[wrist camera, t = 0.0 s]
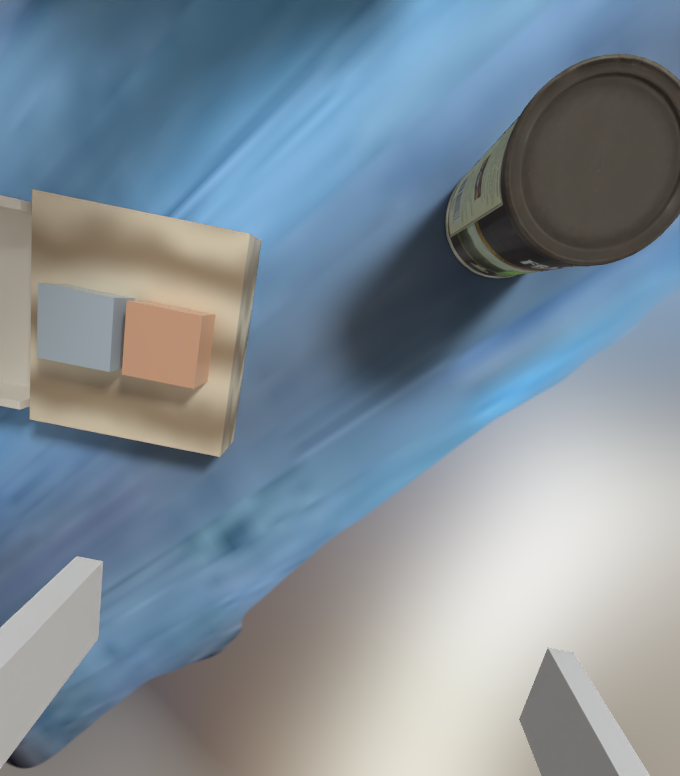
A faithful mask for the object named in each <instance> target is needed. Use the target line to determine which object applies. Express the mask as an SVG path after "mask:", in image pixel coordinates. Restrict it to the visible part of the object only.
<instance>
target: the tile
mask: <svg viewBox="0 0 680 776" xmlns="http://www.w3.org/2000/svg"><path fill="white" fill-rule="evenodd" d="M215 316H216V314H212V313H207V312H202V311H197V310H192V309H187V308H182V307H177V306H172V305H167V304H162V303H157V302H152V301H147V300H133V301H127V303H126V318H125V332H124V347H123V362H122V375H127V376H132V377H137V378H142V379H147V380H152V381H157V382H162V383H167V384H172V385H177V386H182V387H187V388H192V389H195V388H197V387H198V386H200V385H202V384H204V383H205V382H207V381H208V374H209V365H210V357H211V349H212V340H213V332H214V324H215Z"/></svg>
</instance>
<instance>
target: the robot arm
mask: <svg viewBox="0 0 680 776" xmlns="http://www.w3.org/2000/svg"><path fill="white" fill-rule="evenodd" d="M102 570H103V561H98V560H93V559H88V558H83V557H78V556H76V557H75V558H74V559H73V560H72V561H71V562H70V563H69V564H68V565H67V566H66V567H65V568H64V569H63V570H61V571H60V572H59V573H58V574H57V575H56V576H55V577H54V578H53V579H52V580H51V581H50V582H49V583H48V584H46V585H45V586H44V587H43V588H42V589H41V590H40V591H39V592H38V593H37V594H36V595H35V596H34V597H32V598H31V599H30V600H29V601H28V602H27V603H26V604H25V605H24V606H23V607H22V608H21V609H20V610H19V611H17V612H16V613H15V614H14V615H13V616H12V617H11V618H10V619H9V620H8V621H7V622H6V623H5V624H4V625H2V626H1V627H0V769H1V768H2V766H3V765H4V764H5V762H6V761H7V760H8V758H9V757H10V756H11V754H12V753H13V752H14V750H15V749H16V748H17V746H18V745H19V744H20V742H21V741H22V740H23V738H24V737H25V736H26V734H27V733H28V732H29V730H30V729H31V728H32V726H33V725H34V724H35V722H36V721H37V720H38V718H39V717H40V716H41V714H42V713H43V712H44V710H45V709H46V708H47V706H48V705H49V704H50V702H51V701H52V700H53V698H54V697H55V696H56V694H57V693H58V692H59V690H60V689H61V688H62V686H63V685H64V684H65V682H66V681H67V680H68V678H69V677H70V676H71V674H72V673H73V672H74V670H75V669H76V668H77V666H78V665H79V664H80V662H81V661H82V660H83V658H84V657H85V656H86V654H87V653H88V652H89V650H90V649H91V648H92V646H93V645H94V644H95V642H96V641H97V640H98V634H99V618H100V602H101V586H102ZM519 720H520V722H521V725H522V727H523V730H524V732H525V735H526V737H527V740H528V742H529V745H530V747H531V750H532V752H533V755H534V758H535V760H536V763H537V765H538V767H539V770H540V773H541V775H542V776H650V775H649V774H648V772H647V770H646V769H645V767H644V765H643V764H642V762H641V761H640V759H639V757H638V756H637V754H636V753H635V751H634V749H633V748H632V746H631V744H630V743H629V741H628V740H627V738H626V736H625V735H624V733H623V732H622V730H621V728H620V727H619V725H618V724H617V722H616V720H615V719H614V717H613V715H612V714H611V712H610V711H609V709H608V707H607V706H606V704H605V703H604V701H603V700H602V698H601V696H600V695H599V693H598V692H597V690H596V688H595V687H594V685H593V683H592V682H591V680H590V678H589V677H588V675H587V674H586V672H585V671H584V669H583V667H582V666H581V664H580V662H579V661H578V659H577V658H576V656H575V654H574V653H573V652H568V651H563V650H557V649H552V648H548V649H547V651H546V654H545V656H544V659H543V661H542V664H541V666H540V669H539V671H538V674H537V676H536V679H535V681H534V684H533V686H532V689H531V691H530V694H529V696H528V699H527V701H526V704H525V706H524V709H523V711H522V714H521V716H520V719H519Z"/></svg>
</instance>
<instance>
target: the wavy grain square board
mask: <svg viewBox="0 0 680 776" xmlns="http://www.w3.org/2000/svg"><path fill="white" fill-rule="evenodd" d="M260 247H261V240H259V239H258V238H256V237H254V236H253V235H251V234H249V233H244V232H239V231H234V230H229V229H224V228H220V227H215V226H210V225H205V224H200V223H195V222H190V221H185V220H181V219H176V218H171V217H166V216H161V215H156V214H151V213H146V212H142V211H137V210H132V209H127V208H122V207H117V206H112V205H107V204H103V203H98V202H93V201H88V200H83V199H78V198H73V197H68V196H64V195H59V194H54V193H49V192H44V191H39V190H34V189H32V246H31V345H30V420H35V421H41V422H46V423H51V424H56V425H61V426H66V427H71V428H76V429H81V430H86V431H91V432H96V433H101V434H106V435H111V436H116V437H121V438H126V439H131V440H137V441H142V442H147V443H152V444H157V445H162V446H167V447H172V448H177V449H182V450H187V451H192V452H197V453H202V454H207V455H212V456H217V457H220V456H221V455H222V454H223V453H224V452H225V450H226V449H227V448H228V447H229V446H230V444H231V443H232V442H233V438H234V431H235V424H236V417H237V410H238V403H239V396H240V389H241V381H242V374H243V367H244V360H245V353H246V346H247V339H248V332H249V325H250V318H251V311H252V304H253V297H254V290H255V283H256V276H257V268H258V261H259V254H260ZM38 283H56V284H68V285H73V286H78V287H83V288H88V289H93V290H98V291H103V292H108V293H113V294H118V295H123V296H128V297H133V298H135V300H147V301H152V302H157V303H162V304H167V305H172V306H177V307H182V308H187V309H192V310H197V311H202V312H207V313H212V314H216V316H215V324H214V332H213V340H212V349H211V357H210V365H209V374H208V381H207V382H205V383H204V384H202V385H200V386H198V387H197V388H195V389H192V388H187V387H182V386H177V385H172V384H167V383H162V382H157V381H152V380H147V379H142V378H137V377H132V376H127V375H122V368H121V369H118V370H115V371H111V372H107V371H102V370H97V369H92V368H87V367H82V366H77V365H72V364H67V363H62V362H57V361H52V360H47V359H42V358H37V311H38Z"/></svg>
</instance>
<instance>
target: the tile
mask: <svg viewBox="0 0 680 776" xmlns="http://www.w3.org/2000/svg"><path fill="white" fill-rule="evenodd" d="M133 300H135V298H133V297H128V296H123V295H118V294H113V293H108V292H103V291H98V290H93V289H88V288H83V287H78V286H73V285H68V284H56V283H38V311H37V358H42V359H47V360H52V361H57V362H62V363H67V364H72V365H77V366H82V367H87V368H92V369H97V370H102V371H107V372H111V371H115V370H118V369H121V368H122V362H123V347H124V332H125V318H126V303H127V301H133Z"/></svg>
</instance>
